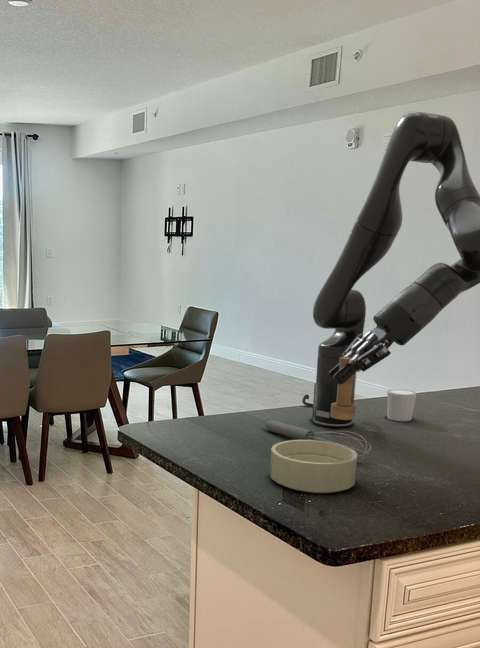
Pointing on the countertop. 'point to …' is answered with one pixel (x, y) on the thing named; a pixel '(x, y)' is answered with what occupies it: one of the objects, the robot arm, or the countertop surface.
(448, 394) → the countertop surface
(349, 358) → the tan wooden post
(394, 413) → the white cup
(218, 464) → the countertop surface
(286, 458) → the bowl
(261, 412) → the countertop surface
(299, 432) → the kitchen whisk
